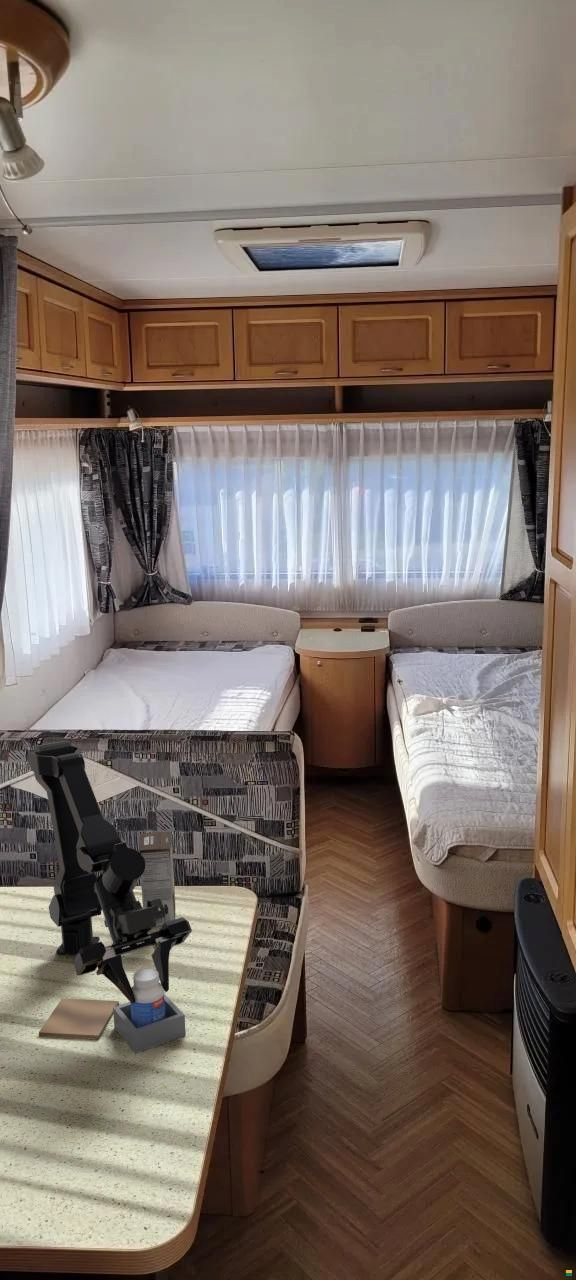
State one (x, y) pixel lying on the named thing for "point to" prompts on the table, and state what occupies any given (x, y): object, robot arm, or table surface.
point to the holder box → (149, 1027)
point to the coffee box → (158, 872)
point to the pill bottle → (147, 998)
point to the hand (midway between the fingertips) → (150, 996)
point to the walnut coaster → (79, 1018)
